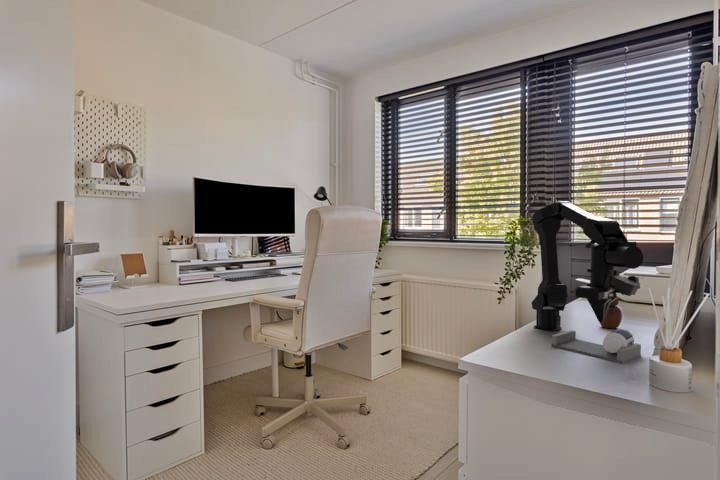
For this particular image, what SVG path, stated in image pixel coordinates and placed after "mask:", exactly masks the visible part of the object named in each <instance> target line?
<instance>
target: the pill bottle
mask: <svg viewBox="0 0 720 480" xmlns="http://www.w3.org/2000/svg"><path fill="white" fill-rule="evenodd" d="M633 344H635V337H634V335H633V334H632V333H631V332H630V331H629V330H627V329H624V328H619V329H618V328H616V329H615V330H613V331H611V332H610V333H607V334H606V335H605V336H604V338H603V342H602V345H603V346H604V348H605V349H606V350H607V351H608V352H611V353H616V354H617V350H619V349H622V348H624V347H627V346H630V345H633Z"/></svg>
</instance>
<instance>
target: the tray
mask: <svg viewBox="0 0 720 480" xmlns="http://www.w3.org/2000/svg"><path fill="white" fill-rule="evenodd" d="M576 332H577V331H576V330H573V329H572V330H567V331H563V332H559V333H556V334H552V335H551V345H550V346H551V347H555V348H558V349H563V350H567V351H571V352H574V353H579V354H583V355H586V356H590V357H595V358H597V359H603V360H606V361H611V362H615V363H619V364H625V363H627V362H629V361H632V360H634V359H636V358H639V357H641V354H642V344H641V343H635V342H634V344H633V345H630V346H627V347H624V348H622V349H619V350H617V354H616V353H611V352H608V351H607V350H606V349H605V348H604V346H603V344H599V343H595V342H590V341H586V340H583V339H576V337H577V336H576V335H577V333H576Z"/></svg>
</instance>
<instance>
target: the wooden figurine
mask: <svg viewBox="0 0 720 480" xmlns="http://www.w3.org/2000/svg"><path fill="white" fill-rule="evenodd" d="M612 294H613V296H616V297H618V296H617V293H614V292H612ZM618 304H619V298H618V299H616V300H614V301H613V302H611V304H610V306H609V309H608V311H607V314H606V317H605V320H604V322H599V321H598V322H599V324H600V326H601V327H603V328H605V329H615V330H616V329H618V327H620V325H621V323H622V319H623V317H622V316H623V315H622V310H621V308H619V307H618Z"/></svg>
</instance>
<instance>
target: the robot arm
mask: <svg viewBox="0 0 720 480" xmlns="http://www.w3.org/2000/svg"><path fill="white" fill-rule="evenodd" d="M531 219H532V223H533V229H534V231H535V232H536V234H537V236H539V247H540V259H541V260H540V262H541V264H540V265H541V276H542V277H541V278H542V280H541V282H539V284H538V285H539V286H538V287H537V295H536V296H535V297H534V299H533V300H532V301H531V306H532V307H531V308H532V310H535V311H536V313H535V314H536V321H535V323H536V324H535V325H533V328H534V327H537V328H536V329H539V328H541V329H540V330H544V331H548V332H554V331H558V330H562V327H563V326H561V319H562V318H561V315H560V312H561V311H562V312H564V310H565V308H566V303H567V300H568V297H569V296H568V291H567V290H568V285H567V284H563V282H561V280H560V273H559V258H558V246H557V236H558V233H559V231H560V230H561V227H562V222H563V221H565V220H568V221H570V222H571V223H573V224H574V225H577V226H578V227H579V228H581V229H582V233H583V234H584V235H585V236H586V237H587V238H588V239H589V240H590V241H589V242H588V243H587V244H586V245H585V247H584V248H585V249H590V267H588V268H586V269H587V270H586V272H587V273H590V274H589V275H590V277H589V278H590V279H589V282H587V283H586V285H580V286H577V287H576V288H574V289H573V290H574V291H573V293H574V295H573V297H574V298H581V299H586V300H587V302H588V303H589V305H590V307H591V309H592V312H593V313H594V316H595V317H596V319H597V321H598V322H604V320H605V317H606V314H607V311H608V309H609V306H610V304H611V302H613V301H614V300H616V299H618V300H619V296H617V297H616V296H613V294H612V292H614V293H616V294H621V295H623V296H627V297H630V296H635V295H636V293H637V291H638V290H639V289H641V282H640V280H639V277H637V276H635V275H630V276H628V277H626V276H621V275H620V274H619V273H620V272H619V270H618V268H624V269H632V270H633V269H637V268H640V267H641V266H642V264H643V261H644V254H643V252H642V250H641V248H640V247H638V246H637V241H628V238H627V237H626V235H625V234H624V231H623V230H622V228H621V226H620V223H619V222H618V221H617V220H614V219H611V218H608V217H602V216H596V215H594V214H591V213H590V212H588V211H586V210H584V209H582V208H580V207H578V206H576V205H575V204H573V203H572V202H571V201H568V200H567V201H566V200H565V201H562V200H557V201H554V202H553V203H551V204H550V205H548V206H544V207H542V208H540V209H537V210H536V211H535V212H534V213H533V214H532V218H531ZM615 267H616V268H617V269H615Z"/></svg>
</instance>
